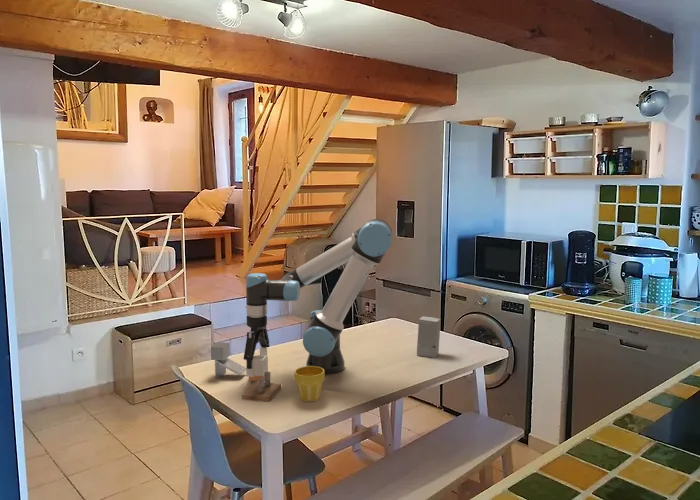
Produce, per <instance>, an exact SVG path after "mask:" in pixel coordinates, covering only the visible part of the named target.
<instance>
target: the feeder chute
mask: <svg viewBox="0 0 700 500" xmlns="http://www.w3.org/2000/svg"><path fill="white" fill-rule="evenodd" d="M230 345H231V343H230V342H221V341H217V342H215V343H214V344H212V345H211V346H210V360H212V361H214V374H215V376H214V377H215V379H220V378H221V377H223V376H224V375H225V374H226V373H227V370H228V371H231V372H232V373H234V374H236V375H238V376H241V375H242V374H243V373H245V372H246V367H245V366H243V365H241V364H239V363H238V362H236V361H234V360H233V359H230V358H229V357H230V356H231V346H230Z"/></svg>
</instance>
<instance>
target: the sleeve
mask: <svg viewBox="0 0 700 500" xmlns="http://www.w3.org/2000/svg"><path fill="white" fill-rule="evenodd" d="M253 359H254V377H248V381H254V382H258V379H259V378H264V381H265V372H269V363H268V362H269V357H268V355H267V356H265V355H260V354H254V357H253Z"/></svg>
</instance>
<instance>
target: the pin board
mask: <svg viewBox="0 0 700 500" xmlns="http://www.w3.org/2000/svg"><path fill="white" fill-rule="evenodd" d="M281 389H282V384H281V383H276V382H275V383H273V382H271V372H270V371H268V372H265V380H264V378H259V379H258V381H254V382H253V383H252V384H250V386H249V387H248V388H247V389H246V390H245V391H244V392H243V393H242V394H241V399H242V400H249V401H250V400H252V401H259V402H260V401H264V402H271V401H272V399H273V398H274V397H275V396H276V395H277V394H278V392H279V391H280V390H281Z"/></svg>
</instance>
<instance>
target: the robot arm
mask: <svg viewBox="0 0 700 500" xmlns="http://www.w3.org/2000/svg"><path fill="white" fill-rule="evenodd" d="M392 244H393V231H392V227H391V226H390V224H389V223H388V222H387V221H386V220H383V219H381V218H373V219H370V220H368V221H367V222H365V223H364V224H363V225H362V226H361V227H359V228H358V229H357V230H354V231H353V232H352V233H351V236H350V237H348V238H346V239H344V240H342V241H341V242H339V243H338V244H336V245H334V246H333V247H331V248H329V249H328V250H326V251H324V252H322V253H321V254H320V255H317V256H316V257H314V258H312V259H311V260H308V261H307V262H305V263H304V264H302V265H300V266H299V267H297V268H295V269H293V270H292V271H290V272H287V273H286V274H284V275H283V276H282V277H281V278H280V279H268V276H267V274H266V273H261V272H254V273H249V274H248V275H246V284H245V285H246V286H245V288H246V289H245V291H246V294H245V295H246V305H245V308H246V315H247V316H246V326H247V327H249V328H250V331H247V332H246V339H245V340H246V341H245V348H244V353H243V360H244V361H245V362H246V363H245V364H246V365H245V366H246V367H245V368H246V370H245V372H246V375H245V376H246V377H247V378H249V377H254V359H253V357H254V355H255V352H256V349H257V348H256V347H257V344H258V343H259V346H260V347H259V355H265V356H268V348H269V347H270V339H269V334H268V329H267V325H268V316H267V315H268V301H278V302H279V301H281V302H282V301H283V302H297V301H298V300H299V299H300V294H301V289H303V288H304V287H306V286H307V285H309V284H311V283H312V282H314V281H316V280H318V279H320V278H322V277H323V276H325V275H326V274H328V273H330V272H332V271H333V270H335V269H337V268H339V267H341V266H342V265H344V264H346V263H347V264H346V265H345V268H344V269H343V271H342V273H341V274H340V276H339V279H338V281H337V282H336V284H335V286H334V288H333V289H332V292H330V295H329V297H327V301H326V302H325V305H324V306H323V308H322V309H319V310H318V309H316V310H312V311H311V312H310V313H309V314H310V316H309V321H310V322H309V325H308V326H307V328H306V330H305V331H304V333H303V335H302V344H303V348H304V349H305V351H306V352H307V353H308V357H307V360H306V366H317V367H321V368H323V369H324V371H325V375H330V374H337V373H339V372H341V371H343V370H344V369H345V359H344V356H343V353H342V350H341V334H342V332H343V330H344V328H345V326H344V323H343V322H344V320H345V319H346V316H347V314H348V313H349V311H350V308H352V305H353V304H354V302H355V300H356V298H357V296H358V295H359V293H360V291H361V289H362V288H363V286H364V284H365V283H366V280H367V278H368V276H369V275H370V273H371V271H372V269H373V267H375V266H378V265H380V264H381V262H382V260H383V259H384V256H385V255H386V253H387V251H389V249H390V248H391V245H392Z"/></svg>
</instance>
